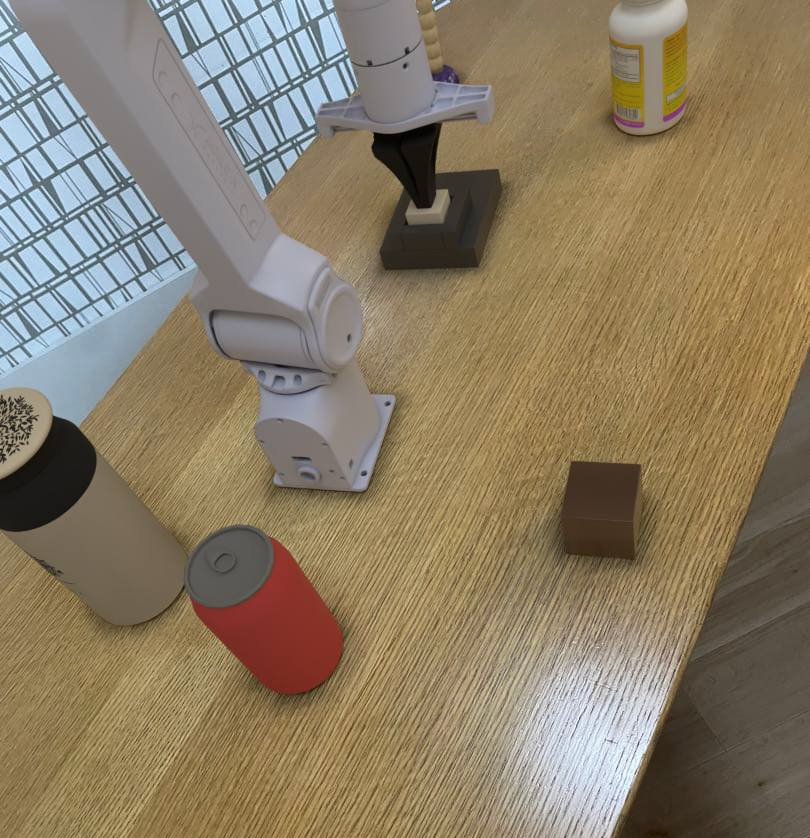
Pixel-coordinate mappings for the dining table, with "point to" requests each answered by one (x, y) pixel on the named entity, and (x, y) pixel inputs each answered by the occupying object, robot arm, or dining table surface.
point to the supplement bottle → (648, 64)
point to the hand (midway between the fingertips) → (426, 201)
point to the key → (430, 210)
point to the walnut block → (602, 509)
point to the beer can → (263, 608)
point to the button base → (445, 225)
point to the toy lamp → (434, 44)
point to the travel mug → (81, 515)
